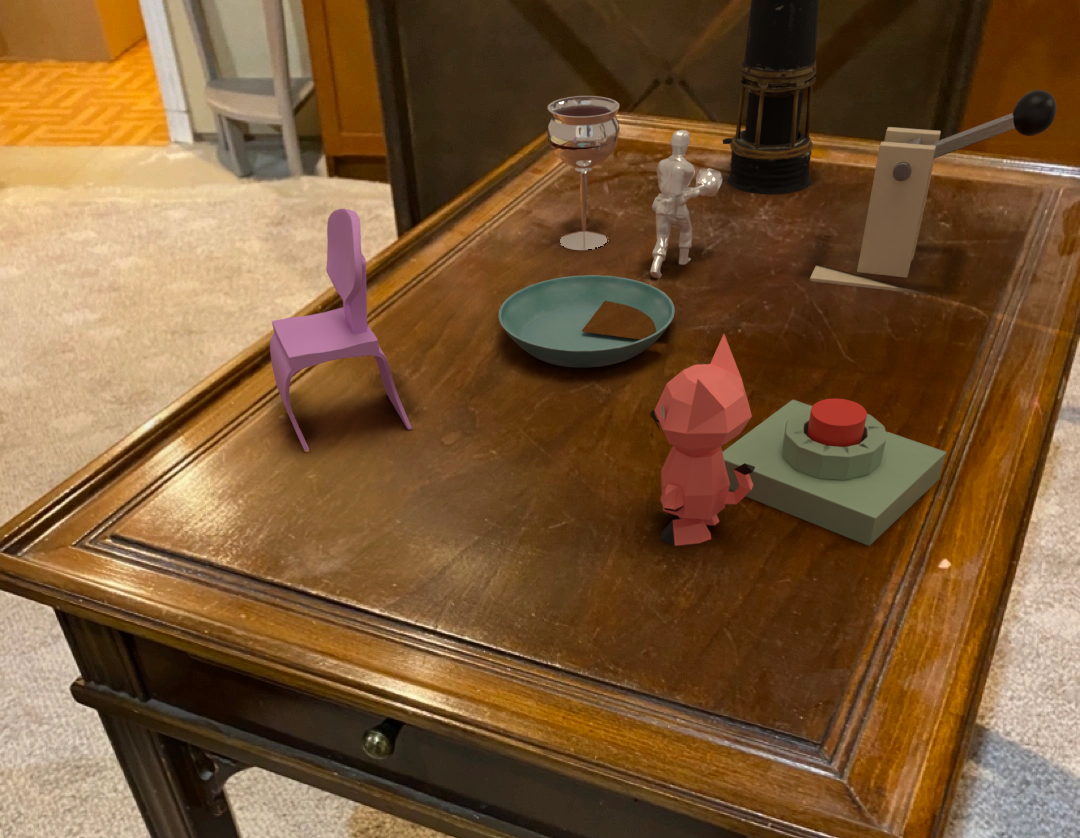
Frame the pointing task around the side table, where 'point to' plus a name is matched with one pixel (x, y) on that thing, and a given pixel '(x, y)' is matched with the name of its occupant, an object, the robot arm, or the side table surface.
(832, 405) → the button
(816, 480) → the button block
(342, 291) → the toy chair
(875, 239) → the bracket
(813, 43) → the lantern
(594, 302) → the saucer
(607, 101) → the wineglass
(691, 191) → the figurine
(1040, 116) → the lever
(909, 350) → the side table surface
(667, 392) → the cat figurine
